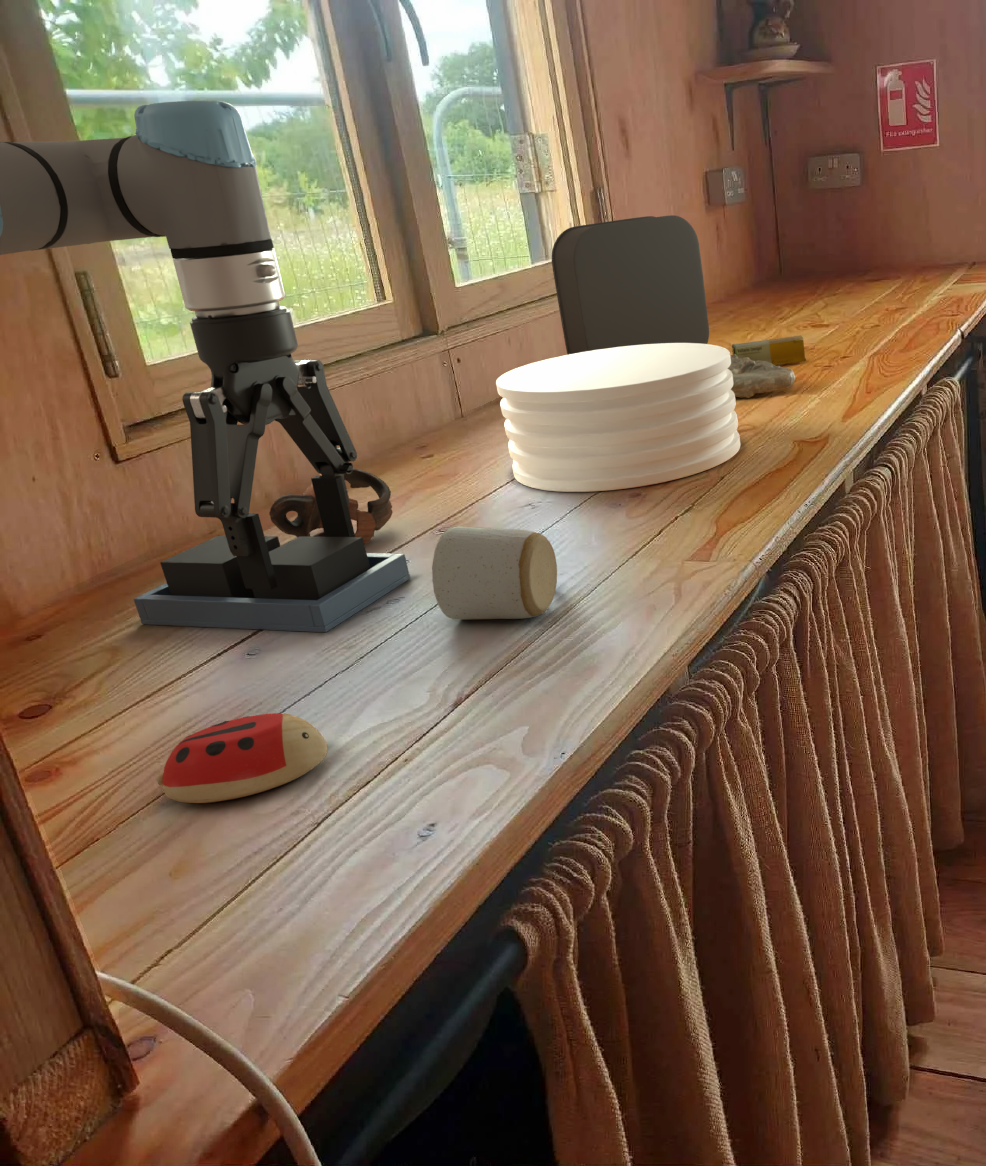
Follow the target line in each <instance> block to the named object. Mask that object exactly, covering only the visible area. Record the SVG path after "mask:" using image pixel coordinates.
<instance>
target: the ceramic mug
mask: <svg viewBox="0 0 986 1166" xmlns="http://www.w3.org/2000/svg"><path fill="white" fill-rule="evenodd" d="M436 543H437V544H436V546H435V549H434V552H433V558H432V565H431V575H432V576H431V577H432V586H433V587H432V588H433V593H434V596H435V600H436V602H437V605H438V607H439V609H440V611H441V612H442V613H443V615H444V616H446V617H447V618H449V619H451V620H499V619H501V620H504V619H507V620H515V619H516V620H517V619H529V618H535V617H538V616H541V615H542V614H544V613H545V612H547V610H548V609H549V607H550V606H551V604H552V603H553V600H554V598H555V593H556V589H557V582H558V565H557V557H556V552H555V550H554V548H553V546H552V543H551V542H550V540H549V539H548V538H547V537H546V536H545V535H543V534H542V533H539V532H535V531H532V530H528V529H518V528H494V527H493V528H492V527H477V526H476V527H474V526H461V525H459V526H458V525H454V526H451V527H449V528H447V529H445V531H444V532H443V533H442V535H441V536H440V538H439V539H438V541H437V542H436Z"/></svg>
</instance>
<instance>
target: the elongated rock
mask: <svg viewBox="0 0 986 1166" xmlns="http://www.w3.org/2000/svg"><path fill="white" fill-rule="evenodd" d="M730 357H731V365H730V366H729V368H727V369H729V370H730V371H731V372H732V375H733V387H732V388H731V390H732V391H733V392H734V394H735V398H741V399H742V398H746V399H750V398H752V397H754V396H755V394H765V393H771V392H775V391H777V390H778V391H779V390H785V389H789V388H791V387H792V386H793V385H794V383H795V382H796V376H795V372H794V370H793V369H791V368H788V367H784V366H783V367H782V366H780V365H773V364H771V363H768V362H767V361H752V360H750V359H749V358H748V357H744V358H741V359H740V358H738V357H737V355H736V354H734V355H733V354H730Z"/></svg>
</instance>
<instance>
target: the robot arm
mask: <svg viewBox="0 0 986 1166" xmlns="http://www.w3.org/2000/svg"><path fill="white" fill-rule="evenodd" d="M133 116H134V123H135V133H134V135H130V136H126V137H116V138H101V139H100V138H99V139H98V138H97V139H85V140H84V139H83V140H59V141H58V140H55V141H53V140H52V141H44V140H43V141H0V256H2V255H9V254H16V253H23V252H30V251H39V250H48V249H57V248H65V247H73V246H80V245H90V244H96V243H105V242H114V241H123V240H136V239H145V238H164V237H165V239H166V241H167V245H168V249H169V250H170V254H171V258H172V261H173V265H174V269H175V274H176V277H177V280H178V284H179V289H180V293H181V296H182V300H183V304H184V307H185V310H186V309H187V311H190V312H194V314H195V315H194V316H193V317H192V318H191V320H190V322H189V326H190V329H191V332H192V337H193V340H194V343H195V347H196V351H197V355H198V358H199V360H200V361H201V362H202V363H204V364H205V365H207V367H208V368H209V370H210V372H211V379H210V380H211V382H210V387H208V388H206V389H204V390H202V391H188V392H187V391H186V392H184V393H183V395H182V399H181V400H182V404H183V407H184V410H185V413H186V415H187V418H188V421H189V428H190V447H191V448H190V450H191V463H192V465H191V466H192V482H193V483H192V484H193V500H194V512H195V514H196V516H197V517H199V518H213V519H214V518H216V519H218V520H219V521H220V522H221V524H222V528H223V531H224V536H226V539H227V542H228V546H229V549H230V552H231V553H232V555H233V556H237V559H238V563H239V567H240V570H241V574H242V577H243V581H244V585H245V588H246V589H262V590H273V589H274V588H276V587H278V586H277V582H276V578H275V574H274V571H273V567H272V563H271V559H270V556H269V552H268V548H267V544H266V541H265V537H264V536H265V533H264V529H263V526H262V522H261V518H260V515H259V513H253V512H250V509H251V499H252V492H253V485H254V479H255V478H254V477H255V470H256V462H257V456H258V455H257V454H258V448H259V440H260V438H262V437H263V436H264V435H265V431H266V426H267V425H270V424H272V423H273V422H274V421H275V422H277V423H279V424H280V425H281V426H282V428H283V429H284V430H285V432H286V433H287V435H288V436H289V437H290V439H291V440H292V441H293V443H295V445H296V446H297V447H298V449H299V451H301V453H302V454H303V455H304V457H305V458H306V459H307V461H308V462H309V463H310V465H311V466H312V467H313V468H314V470H315V471H316V472H317V474H319V475H315V476H313V477H311V478H310V480H311V484H312V485H313V489H314V493H315V497H316V501H317V505H318V509H319V513H320V517H321V522H322V526H323V528H322V529H323V534H324V537H355V530H354V526H353V520H352V519H351V517H350V513H349V508H348V506H349V498H350V497H349V492H348V490H347V489H348V488H347V483H346V480H345V479H344V474H351V473H352V471H353V468H354V465H353V463H352V462H355V461H356V460H357V459H358V453H357V450H356V448H355V445H354V443H353V441H352V439H351V437H350V434H349V432H348V429H347V428H346V425H345V423H344V421H343V419H342V416H341V414H340V411H339V409H338V407H337V405H336V403H335V400H334V399H333V396H332V394H331V392H330V389H329V386H328V385H327V384H328V383H327V379H326V374H325V373H326V372H325V367H324V363H323V362H322V361H321V360H318V359H310V360H309V359H308V360H306V359H304V360H294V358H293V356H292V354H293V353H295V352H296V351H297V349H298V347H299V344H298V339H297V336H296V335H297V334H296V330H295V327H294V324H293V318H292V313H291V310H290V309H287V307H286V306H284V305H280V302H281V301H283V300H284V299H285V298H286V292H285V288H284V285H283V280H282V275H281V271H280V268H279V263H278V260H277V255H276V250H275V246H274V242H273V240H272V239H273V238H272V236H271V231H270V227H269V222H268V217H267V213H266V209H265V204H264V200H263V194H262V189H261V184H260V179H259V174H258V169H257V165H258V164H257V158H256V157H255V156H254V154H253V151H252V148H251V145H250V141H249V138H248V134H247V131H246V128H245V124H244V121H243V118H242V115H241V113H240V111H239V110H238V109H237V108H236V106H234V105H233V104H232V103H229V102H226V101H223V100H208V99H207V100H205V99H203V100H180V101H178V100H177V101H165V102H155V103H149V104H142V105H140V106H138V107H137V108H136V109H135V111H134V115H133ZM238 423H240V424H238ZM338 447H339V448H338ZM320 474H321V475H322V476H320ZM232 499H233V500H234V501H233V502H232Z"/></svg>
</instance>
